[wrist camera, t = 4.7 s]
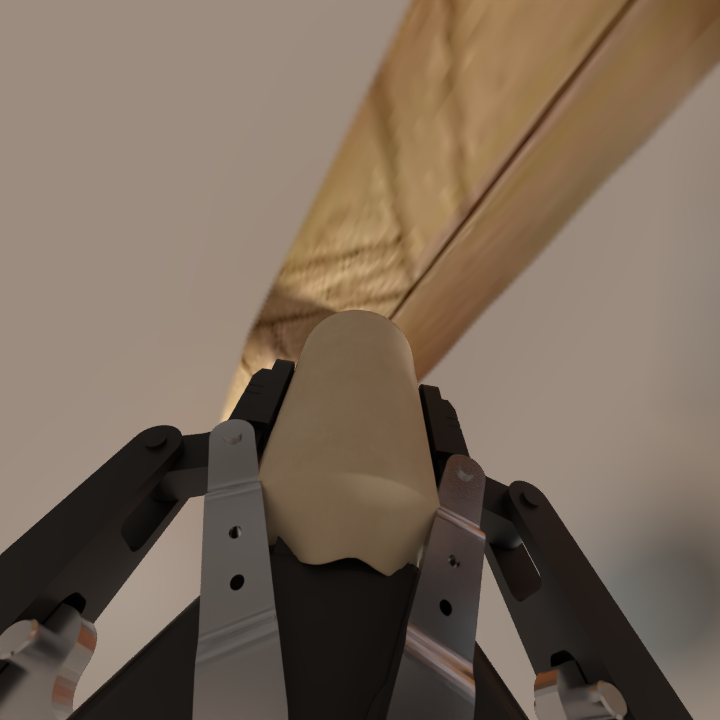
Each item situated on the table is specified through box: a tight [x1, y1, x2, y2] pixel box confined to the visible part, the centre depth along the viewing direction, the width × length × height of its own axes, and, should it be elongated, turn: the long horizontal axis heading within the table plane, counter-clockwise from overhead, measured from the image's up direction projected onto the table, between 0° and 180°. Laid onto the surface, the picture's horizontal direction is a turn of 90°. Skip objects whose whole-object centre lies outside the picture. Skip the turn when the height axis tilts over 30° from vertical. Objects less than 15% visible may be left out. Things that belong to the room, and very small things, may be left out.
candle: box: [257, 310, 440, 576], centre depth 11 cm, size 6×6×10 cm
